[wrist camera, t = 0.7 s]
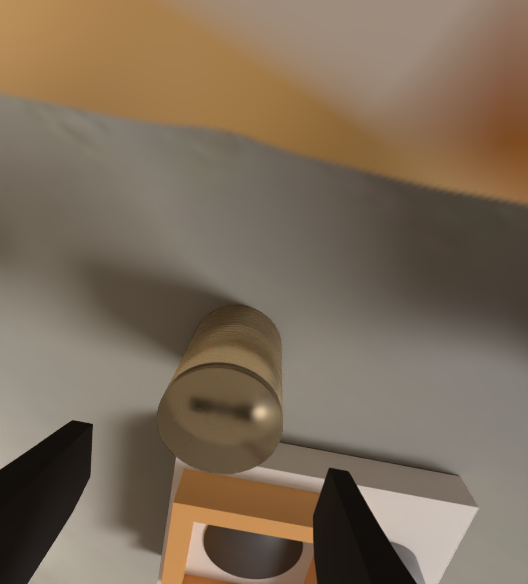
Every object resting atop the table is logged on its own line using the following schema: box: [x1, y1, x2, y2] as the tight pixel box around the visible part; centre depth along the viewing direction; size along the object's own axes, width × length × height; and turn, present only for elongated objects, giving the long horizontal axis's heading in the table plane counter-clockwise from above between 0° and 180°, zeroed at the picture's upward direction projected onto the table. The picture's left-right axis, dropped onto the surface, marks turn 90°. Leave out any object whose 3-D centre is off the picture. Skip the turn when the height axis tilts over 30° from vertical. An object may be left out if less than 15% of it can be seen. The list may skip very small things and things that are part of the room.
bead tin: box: [157, 305, 283, 474], centre depth 15 cm, size 4×4×6 cm
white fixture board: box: [158, 443, 479, 584], centre depth 20 cm, size 16×11×4 cm
